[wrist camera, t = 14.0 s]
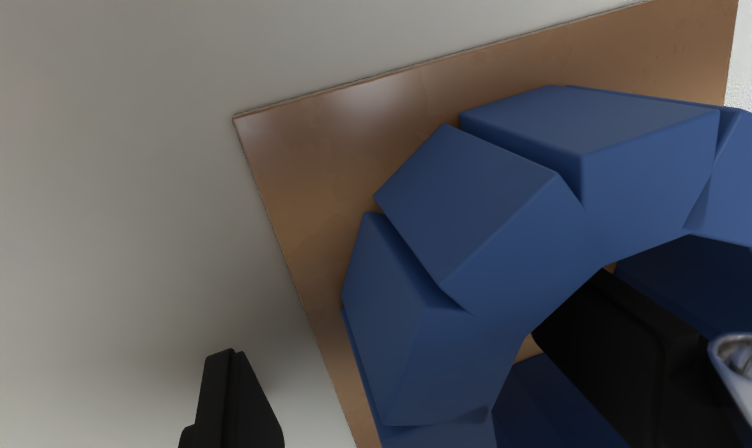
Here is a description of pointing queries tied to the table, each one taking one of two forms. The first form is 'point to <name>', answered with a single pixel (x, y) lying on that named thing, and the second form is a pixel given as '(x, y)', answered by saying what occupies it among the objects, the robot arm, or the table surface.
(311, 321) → the mat
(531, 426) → the ring
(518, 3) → the table surface
